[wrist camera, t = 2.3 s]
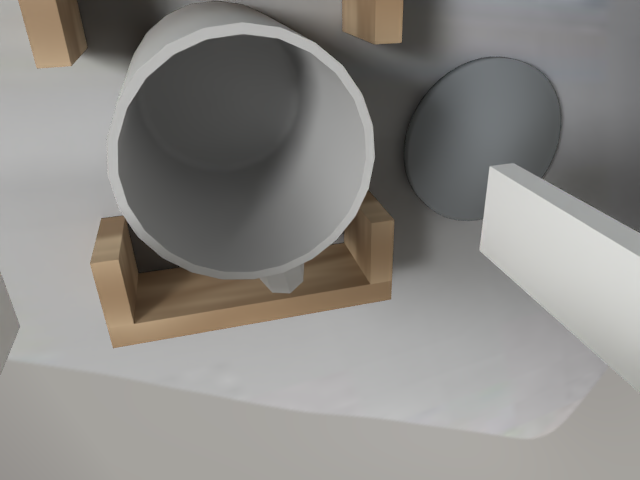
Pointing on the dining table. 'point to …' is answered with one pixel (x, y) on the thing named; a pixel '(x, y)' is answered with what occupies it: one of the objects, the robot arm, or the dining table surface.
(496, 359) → the dining table surface
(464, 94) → the coaster
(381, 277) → the wooden brackets
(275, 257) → the cup
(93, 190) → the dining table surface
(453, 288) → the dining table surface
